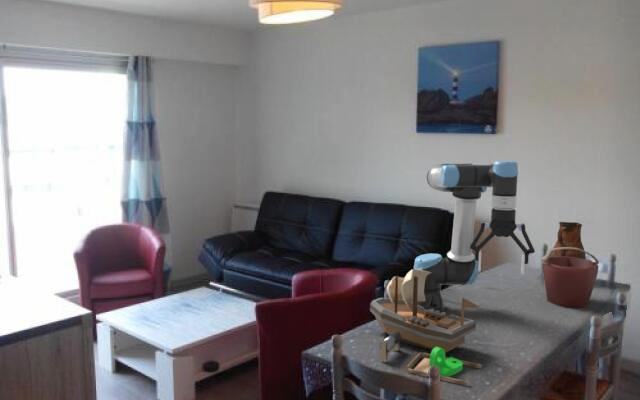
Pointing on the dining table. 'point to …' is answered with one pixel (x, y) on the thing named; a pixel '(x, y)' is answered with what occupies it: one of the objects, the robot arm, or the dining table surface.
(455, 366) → the mechanical part
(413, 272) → the sailing ship
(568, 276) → the bucket
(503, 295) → the dining table surface
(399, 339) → the winch
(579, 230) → the pitcher
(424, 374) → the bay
